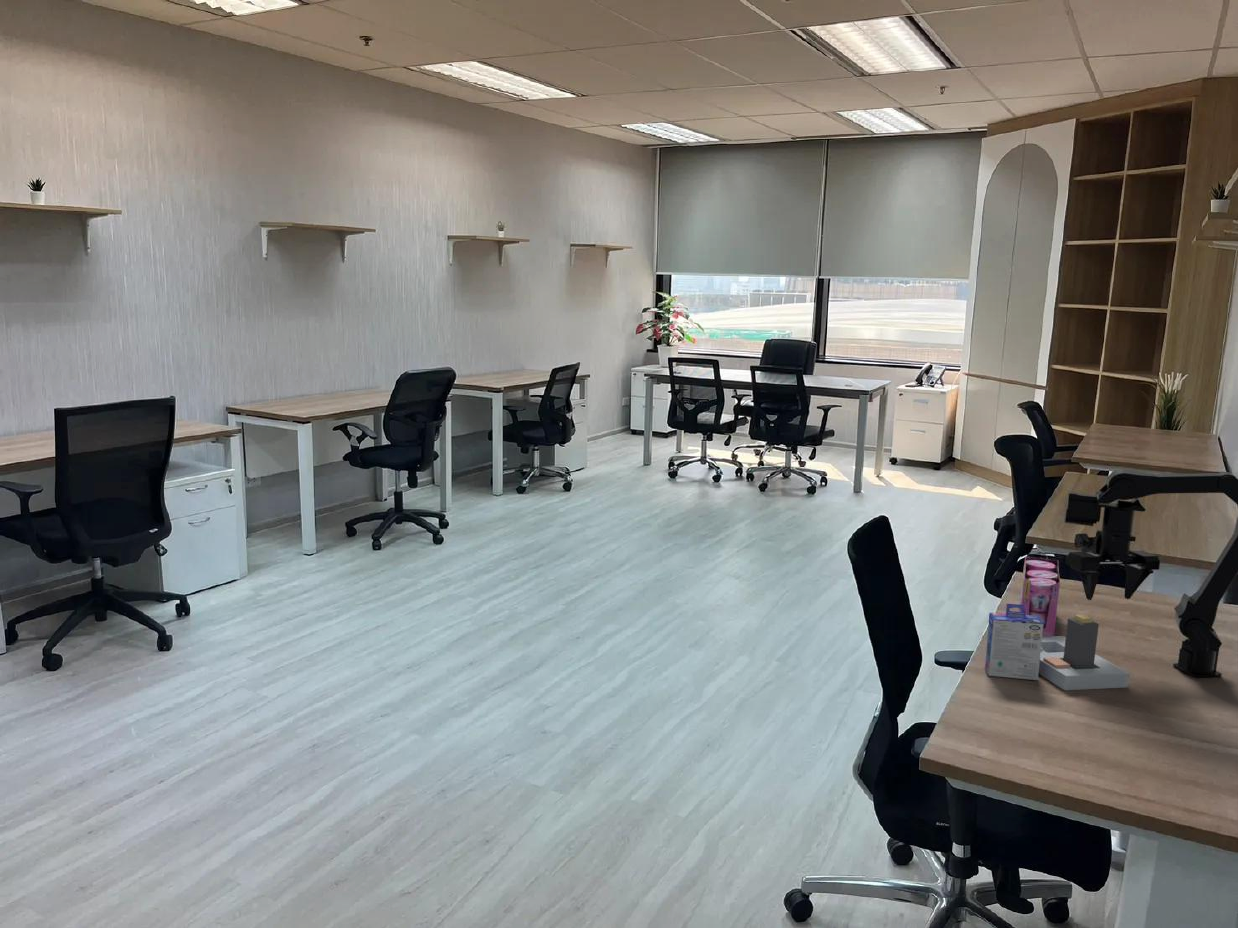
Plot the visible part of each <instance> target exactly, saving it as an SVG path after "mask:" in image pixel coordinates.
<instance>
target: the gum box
mask: <svg viewBox="0 0 1238 928" xmlns="http://www.w3.org/2000/svg"><path fill="white" fill-rule="evenodd" d="M1022 571H1023V572H1022V580H1021V587H1020V588H1021V589H1020V597H1019V605H1025V614H1026V615H1030V616H1038V617H1039V618H1040V620H1041V621H1042V622H1043V623H1044V626H1043V634H1042V637H1050V636H1055V629H1056V628H1055V627H1056V620H1057V612H1058V603H1059V594H1060V587H1061V577H1060V572H1059V571H1060V570H1059V560H1057V559H1050V558H1043V557H1041V558H1040V557H1035V556H1025V558H1024V564H1023V570H1022ZM1018 609H1019V608H1018ZM1018 612H1022V609H1019V610H1018Z"/></svg>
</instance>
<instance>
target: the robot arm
mask: <svg viewBox="0 0 1238 928" xmlns="http://www.w3.org/2000/svg"><path fill="white" fill-rule="evenodd" d="M1158 494H1159V495H1160V494H1163V495H1164V494H1224V495H1225V496H1226V497H1228V498H1229V499H1230V500H1232V502H1234V503H1235V504H1236V505H1238V478H1237V477H1236V476H1235V475H1234V474H1233V473H1231V472H1228V471H1221V472H1205V473H1204V472H1203V473H1200V472H1199V473H1151V472H1145V471H1139V470H1135V469H1134V470H1133V469H1126V468H1120V469H1119V468H1118V469H1115V470H1113V471H1112V472H1111V473H1109V475H1108V476H1107V478H1106V483H1105V484H1104V485H1103V486H1102V487H1101V488H1100V489H1098V490H1097V492H1096V493H1095V494H1085V493H1078V492H1073V491H1069V492H1068V497H1067V502H1066V504H1065V508H1064V517H1063V518H1064V520H1063V522H1064V524H1070V525H1077V526H1079V525H1080V526H1089V527H1093V526H1094V524H1095V525H1096V524H1097V523H1099V522H1100V521H1101V513H1102V508H1103V517H1102V524H1101V525H1102V526H1101V529H1100V530H1099V529H1097V531H1096V532H1095V535H1094V536H1089V535H1088V534H1087V533H1075V536H1074V542H1073V543H1074V548H1076V549H1081V551H1070V552H1068V553H1067V554H1066V557H1065V565H1068V566H1070V568H1071V569H1073V570H1075V571H1076V572H1077V573H1078V575H1079V577H1080V580H1081V583H1082V587H1083V590H1084V594H1085V597H1086V598H1085V599H1087V600H1088V601H1092V599H1093V597H1094V594H1095V591H1096V587H1097V585H1098V580H1099V578H1100V577H1099V576H1100V572H1099V571H1097V570H1098V569H1099V568H1100V566H1119V565H1121V566H1122V565H1123V567H1124V569H1125V572H1126V577H1125V584H1124V585H1125V586H1124V598H1125V599H1126V600H1130V599H1131V598H1132V597H1133V595H1134V594H1135V593H1136V591H1137V590H1138V588H1139V587H1140V586H1141V585H1142V583H1143V582H1144V581H1145V580H1146V579H1147V578H1148V577H1149V576H1150V575H1151V574H1154V572H1155V571H1157V570H1158V571H1159V570H1160V565H1161V560H1160V559H1159V556H1158V555H1155V554H1153V553H1151V552H1147V551H1146V550H1131V543H1132V542H1136V536H1135V535H1132V533H1133V526H1134V518H1135V512H1141V513H1142V512H1144V513H1145V512H1146V507H1145V505H1143V504H1142V503H1141V502H1140V500H1139V499H1140V498H1145V497H1149V496H1152V495H1158ZM1130 500H1131V501H1130ZM1091 553H1092V554H1091ZM1237 575H1238V516H1237V518H1236V522H1235V526H1234V531H1233V534H1232V535H1231V537H1230V538H1229V540H1228V542H1227V543H1226V545H1225V547H1224V548H1223V549H1222V552H1221V553H1220V555H1219V557H1218V558H1217V560H1216V561H1215V563H1214V564H1213V566H1212V568H1211V570H1210V571H1209V573H1208V575H1207V576H1206V578H1205V579H1204V581H1203V582H1202V584H1201V585H1200V587H1199V589H1198V590H1197V591H1196V592H1195V593H1193V594H1192V595H1191V596H1190V595H1188V594H1187V593H1183V595H1182V596H1181V599H1180V601H1179V603H1178V605H1176V606H1175V607H1174V608H1173V609H1174V612H1175V614H1174V619H1175V623H1176V625H1177V628H1178V629H1179V632H1180V633H1181V634H1182V635H1183V636H1184V637H1185V638H1186V639H1185V640H1182V641H1181V648H1179V653H1178V661H1177V663H1172V666H1173V668H1177V669H1178V670H1180V671H1182V672H1183V673H1186V674H1188V675H1190V676H1191V677H1194V678H1209V677H1210V678H1211V677H1212V678H1213V677H1222V676H1223V673H1221V672H1219V671H1217V667H1218V666H1217V665H1218V662H1219V660H1218V659H1219V655H1220V654H1219V652H1220V648H1221V646H1222V645H1223V642H1222V641H1221V639H1220V637H1219V636H1218V634H1217V632H1216V630H1215V629H1214V628H1213V625H1214V624H1215V620H1216V617H1217V613H1218V608H1219V604H1220V602H1221V601H1222V599H1223V597H1225V596H1224V595H1225V594H1226V592H1227V591H1228V589H1229V588H1230V586H1231V584H1232V583H1233V581H1234V580H1235V578H1236V576H1237Z"/></svg>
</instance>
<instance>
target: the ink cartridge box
mask: <svg viewBox="0 0 1238 928" xmlns="http://www.w3.org/2000/svg"><path fill="white" fill-rule="evenodd" d="M1013 608H1017V609H1022V612H1019V611H1016V610H1015V611H1014V610H1013V611H1012V610H1010V609H1013ZM1043 626H1044V623H1043V622H1042V621H1041V620H1040V618H1039V617H1038V616H1030V615H1026V614H1025V605H1020V604H1016V603H1006V609H1005V613H1001V612H999V613H998V612H995V613H994V612H989V614H988V628H987V641H986V651H985V652H986V653H985V660H984V661H985V662H984V669H985V673H986V675H987V676H989V677H999V678H1009V679H1010V678H1011V679H1021V680H1031V681H1039V680H1038V679H1039V674H1038V673H1039V662H1040V653H1041V643H1042V634H1043Z"/></svg>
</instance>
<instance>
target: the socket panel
mask: <svg viewBox="0 0 1238 928" xmlns="http://www.w3.org/2000/svg"><path fill="white" fill-rule="evenodd" d="M1065 640H1066V636H1064V635H1058V636H1057V635H1054V636H1050V637H1042V643H1041V653H1040V662H1039V673H1038V675H1041V676H1042V677H1043V678H1044V679H1046V680H1048V681H1049V682H1051V683H1053V684H1054V685H1055V686H1057V687H1058V688H1060V689H1062V690H1063V691H1076V690H1077V691H1081V690H1100V689H1118V688H1119V689H1123V688H1128V687H1129V679H1130V672H1128V671H1126V670H1124V669H1123V668H1121V667H1119V666H1117V665H1115V664H1113V663H1112V662H1110V661H1109V660H1107V659H1105V658H1104V657H1101V656H1099V655H1097V654H1096V653H1095V659H1094V667H1093V669H1073V668H1072V667H1070V664H1068V663H1066V662H1065V661H1063V657H1064V648H1065Z"/></svg>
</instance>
